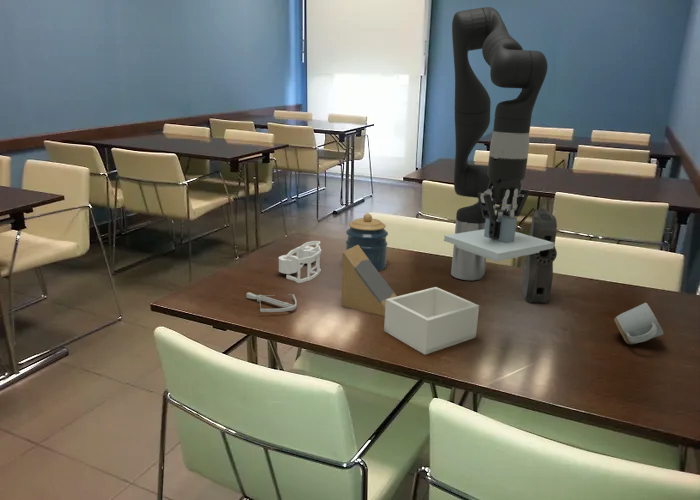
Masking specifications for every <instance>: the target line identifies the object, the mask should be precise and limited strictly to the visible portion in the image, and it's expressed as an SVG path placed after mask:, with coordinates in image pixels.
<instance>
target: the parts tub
mask: <svg viewBox="0 0 700 500" xmlns="http://www.w3.org/2000/svg"><path fill="white" fill-rule="evenodd" d="M479 311H480V305H479V304H476V303H474V302H472V301H470V300H468V299H465V298H462V297H461V296H458V295H456V294H455V293H452V292H449V291H446V290H444V289H442V288H439V287H437V286H434V287H433V286H432V287H430V288H429V287H428V288H426V289H422V290H421V289H420V290H418V291H413V292H410V293H406V294H401V295H398V296H397V297H393V298H389V299H386V306H385V316H384V323H383V324H384V327H383V332H385V333H387V334H388V335H391V336H392V337H394V338H396V340H399V341H400V342H402V343H404V344H406V345H407V346H408V347H409V346H410V347H411V348H412V349H415V350H416V351H418V352H419V353H421V354H423V355H424V356H425V355H426V356H427V355H428V354H431V353H435V352H437V351H441V350H443V349H446V348H450V347H452V346H455V345H458V344H461V343H463V342H467V341H469V340H470V341H471V340H472V339H476V336H477V328H478V321H479V320H478V319H479Z"/></svg>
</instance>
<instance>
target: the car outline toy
mask: <svg viewBox="0 0 700 500" xmlns="http://www.w3.org/2000/svg"><path fill="white" fill-rule="evenodd" d="M313 246H314V247H313ZM294 254H295V255H294ZM321 254H323V253H322V249H321V241H320V240H312V241H307V242H304V243H303V244H302V245H300V246H298V247H295V248H293V249H291V250H289V252H288V253H287V254H283V255H280V256H278V272H279V273H281V274H284V275H285V274H286V278H285V279H287V280H290V281H293V282H295V283H297V284H301V283H305V282H306V281H307V282H308V281H311V280H314V278H316V277H317V276H318V275H320V273H321V272H322V269H321V266H320V265H321V263H320V262H321ZM314 262H315V265H314V266H313V267H312V263H314ZM305 264H307V265H306V266H307V268H306V269H307V273H306V275H307V276H306V277H304V278H301V269H302V268H303V267H304V265H305ZM315 269H316V271H315ZM295 273H297V277H295V276H292V274H295Z"/></svg>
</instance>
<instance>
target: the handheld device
mask: <svg viewBox="0 0 700 500" xmlns="http://www.w3.org/2000/svg"><path fill="white" fill-rule="evenodd" d="M557 229H558V223H557V218H556V216H554V214H553V213H551V212H550V211H548V210H547V209H544V208H539V209H537V210H535V211H534V212H533V215H532V220H531V225H530V230H529V236H532V237H536V238H539V239H543V240H546V241H550V242H553V243H554V248H552V249H547V250H542V251H539V253H535V254H530V255H525V260H524V266H523V272H522V279H521V287H520V290H521V294H522V297H523V299H524V300H525V302H527V303H530V304H533V303H534V304H535V303H536V304H548V302H549V299H550V296H551V291H552V284H553V279H554V277H553V275H554V263H553V262H555V260H556V258H557V256H558V255H557V253H558V252H557V249H556V246H555V244H556V238H557Z"/></svg>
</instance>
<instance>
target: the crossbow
mask: <svg viewBox="0 0 700 500" xmlns="http://www.w3.org/2000/svg"><path fill="white" fill-rule="evenodd" d="M245 295H246V298H247V299H250V300H251V299H252V300H256V301H257V303H258V302H259V306H260V309H259V313H277V312H278V313H280V312H289V311H293V310H296V309H297V307H298V306H297V303H298V302H297V301H298V300H297V297H296V296H295V294H294V293H293V294H291V293H289V296H292V298H293V299H292V300H294V304H291V303H289V302H288V301H287V302H284V301H281V300H278V299H275V298H272V297H270V296H274V295H273V294H270V295H269V294H268V295H263V294H261V293H260V294H255V293H252V292H249V291H248V292H247V293H246V294H245ZM262 301H263V302H265V303H266V302H267V303H269V304H273V305H275V306H278V307H282V308H262V306H261V303H260V302H262Z"/></svg>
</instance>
